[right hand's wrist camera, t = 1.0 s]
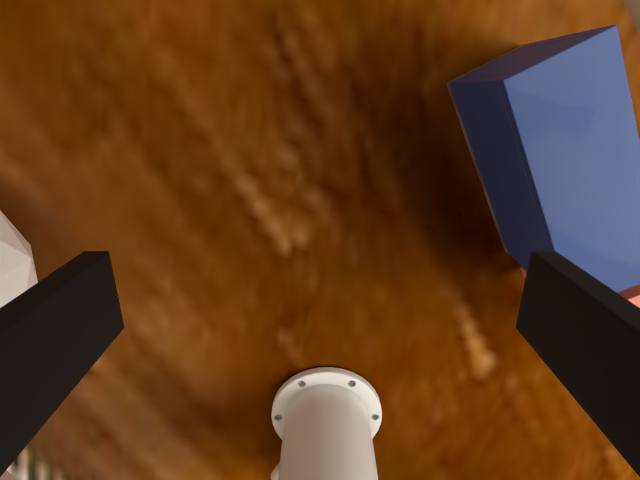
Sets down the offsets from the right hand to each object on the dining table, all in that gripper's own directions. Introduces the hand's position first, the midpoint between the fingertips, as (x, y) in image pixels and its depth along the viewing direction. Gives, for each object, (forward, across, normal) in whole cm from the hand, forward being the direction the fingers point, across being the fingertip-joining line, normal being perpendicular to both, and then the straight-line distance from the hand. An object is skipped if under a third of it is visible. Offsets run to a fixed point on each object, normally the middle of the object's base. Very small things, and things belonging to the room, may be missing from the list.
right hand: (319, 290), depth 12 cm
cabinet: (+25, +17, 0) cm, 30 cm away
